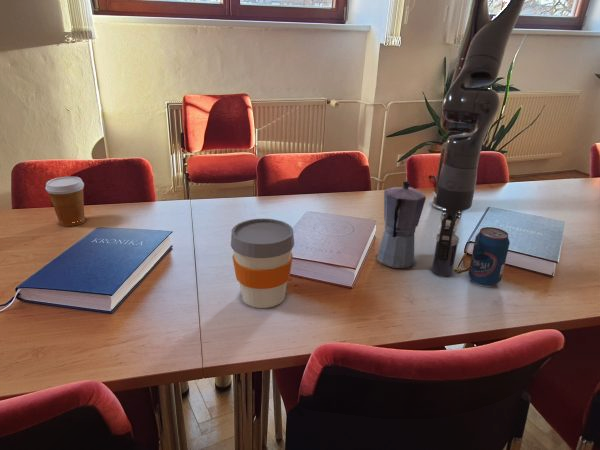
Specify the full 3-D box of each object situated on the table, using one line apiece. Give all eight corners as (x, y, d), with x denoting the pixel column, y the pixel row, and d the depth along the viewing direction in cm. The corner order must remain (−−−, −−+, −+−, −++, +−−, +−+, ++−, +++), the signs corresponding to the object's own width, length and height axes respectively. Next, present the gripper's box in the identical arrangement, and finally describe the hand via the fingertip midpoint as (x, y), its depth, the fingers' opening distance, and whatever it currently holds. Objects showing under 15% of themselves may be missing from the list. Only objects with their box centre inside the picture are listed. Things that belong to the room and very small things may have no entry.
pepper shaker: (432, 264, 106) (438, 231, 103) (453, 269, 105) (460, 234, 101) (429, 274, 102) (435, 239, 99) (451, 278, 101) (458, 243, 97)
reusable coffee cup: (270, 320, 85) (270, 251, 79) (220, 300, 91) (216, 233, 85) (304, 291, 94) (306, 227, 88) (257, 274, 100) (256, 213, 94)
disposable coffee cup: (45, 225, 122) (35, 184, 117) (73, 213, 130) (65, 174, 125) (71, 231, 119) (62, 189, 114) (98, 218, 127) (91, 178, 122)
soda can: (462, 280, 100) (471, 232, 95) (474, 269, 105) (484, 223, 100) (492, 292, 96) (504, 242, 91) (504, 280, 100) (516, 232, 96)
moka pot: (418, 251, 113) (430, 176, 105) (412, 280, 99) (424, 197, 91) (381, 245, 115) (389, 171, 107) (370, 273, 102) (378, 191, 94)
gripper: (472, 197, 87) (458, 269, 94) (477, 177, 99) (464, 242, 106) (433, 191, 90) (423, 261, 97) (442, 173, 102) (432, 236, 109)
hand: (444, 251), depth 101 cm, fingers open, 8 cm apart
